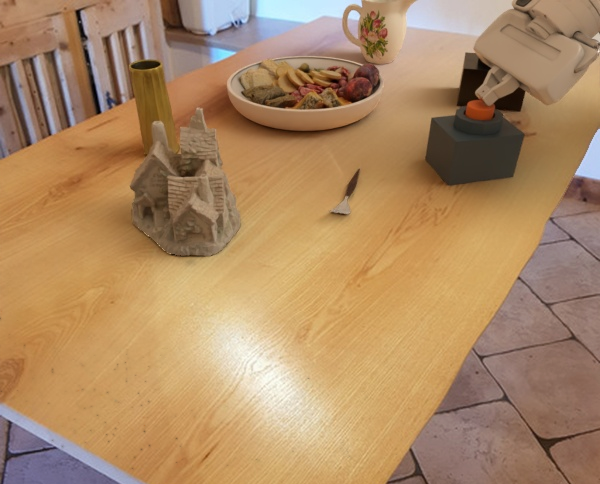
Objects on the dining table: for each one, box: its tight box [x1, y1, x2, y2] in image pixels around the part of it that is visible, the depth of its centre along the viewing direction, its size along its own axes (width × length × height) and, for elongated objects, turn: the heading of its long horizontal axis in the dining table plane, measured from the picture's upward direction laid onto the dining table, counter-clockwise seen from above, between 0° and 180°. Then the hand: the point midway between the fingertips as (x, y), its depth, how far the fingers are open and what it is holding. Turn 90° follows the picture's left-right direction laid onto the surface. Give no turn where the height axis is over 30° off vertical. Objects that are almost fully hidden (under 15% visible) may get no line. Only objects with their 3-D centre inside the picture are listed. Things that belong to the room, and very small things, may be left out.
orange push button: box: [465, 100, 495, 120], centre depth 82 cm, size 4×4×2 cm
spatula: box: [328, 168, 361, 215], centre depth 81 cm, size 3×16×2 cm, turn 163°
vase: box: [128, 58, 180, 156], centre depth 89 cm, size 6×6×14 cm
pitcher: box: [341, 0, 418, 65], centre depth 125 cm, size 11×18×14 cm, turn 61°
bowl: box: [226, 55, 385, 132], centre depth 106 cm, size 30×30×8 cm
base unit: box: [456, 51, 527, 112], centre depth 107 cm, size 12×10×9 cm
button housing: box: [424, 106, 526, 187], centre depth 85 cm, size 11×9×9 cm
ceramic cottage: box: [129, 106, 242, 257], centre depth 72 cm, size 16×16×15 cm
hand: (481, 99), depth 81 cm, fingers closed
